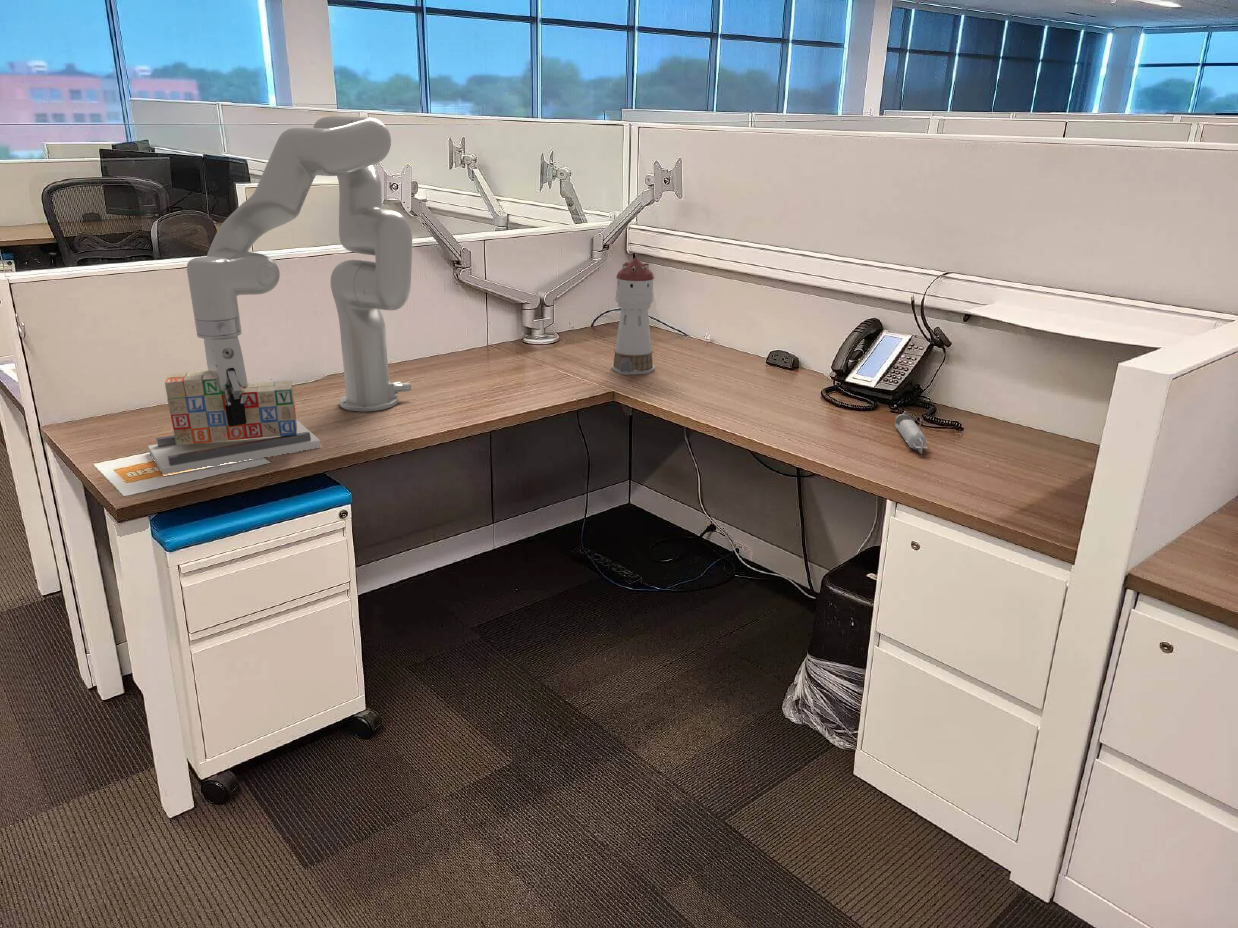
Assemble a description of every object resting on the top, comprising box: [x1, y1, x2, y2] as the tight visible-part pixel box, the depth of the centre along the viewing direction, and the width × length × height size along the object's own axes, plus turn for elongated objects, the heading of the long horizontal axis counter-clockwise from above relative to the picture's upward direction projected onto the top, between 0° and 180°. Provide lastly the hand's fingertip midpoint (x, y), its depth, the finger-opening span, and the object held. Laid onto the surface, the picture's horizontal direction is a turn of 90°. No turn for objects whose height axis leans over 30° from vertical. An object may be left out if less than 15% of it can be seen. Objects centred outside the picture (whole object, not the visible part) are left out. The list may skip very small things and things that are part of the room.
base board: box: [147, 420, 322, 475], centre depth 171 cm, size 28×14×3 cm, turn 125°
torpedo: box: [894, 413, 930, 454], centre depth 184 cm, size 18×5×7 cm, turn 177°
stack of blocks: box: [164, 370, 298, 445], centre depth 168 cm, size 21×6×12 cm, turn 108°
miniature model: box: [611, 253, 656, 376], centre depth 226 cm, size 11×12×30 cm
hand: (231, 418), depth 169 cm, fingers closed on stack of blocks, 7 cm apart
